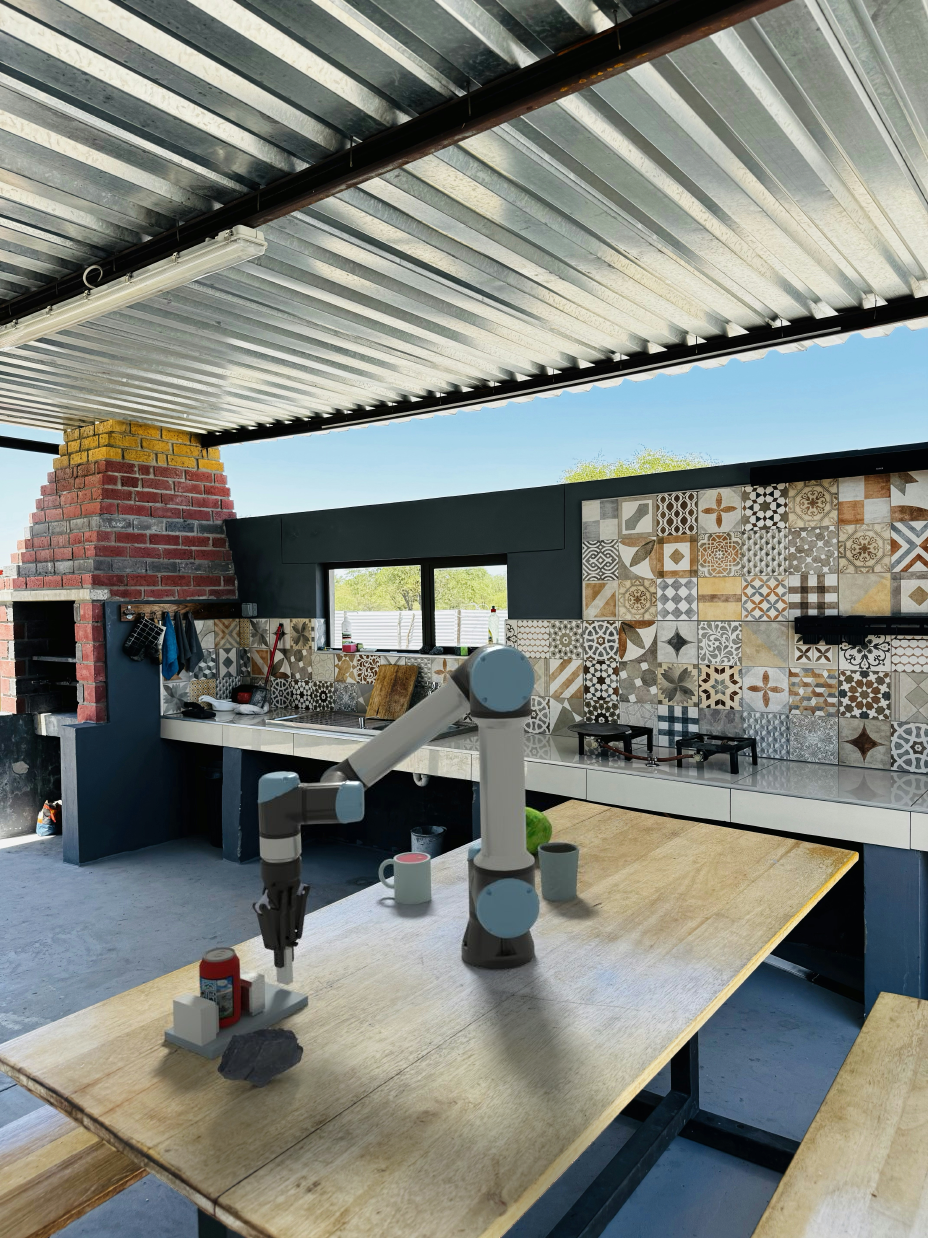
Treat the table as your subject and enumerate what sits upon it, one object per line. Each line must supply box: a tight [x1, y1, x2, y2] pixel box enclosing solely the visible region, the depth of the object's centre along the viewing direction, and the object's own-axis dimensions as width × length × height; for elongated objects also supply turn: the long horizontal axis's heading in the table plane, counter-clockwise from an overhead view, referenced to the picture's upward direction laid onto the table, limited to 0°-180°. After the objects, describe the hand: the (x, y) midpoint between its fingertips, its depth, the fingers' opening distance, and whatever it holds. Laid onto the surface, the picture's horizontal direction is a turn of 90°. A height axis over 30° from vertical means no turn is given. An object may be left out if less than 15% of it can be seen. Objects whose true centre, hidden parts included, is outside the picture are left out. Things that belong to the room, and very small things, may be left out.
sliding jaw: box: [240, 967, 266, 1016], centre depth 148 cm, size 7×4×6 cm, turn 57°
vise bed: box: [163, 981, 309, 1060], centre depth 148 cm, size 12×22×8 cm, turn 147°
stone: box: [216, 1027, 305, 1088], centre depth 127 cm, size 14×6×10 cm, turn 150°
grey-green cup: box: [537, 841, 580, 903], centre depth 208 cm, size 10×10×12 cm
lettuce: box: [525, 806, 553, 855], centre depth 244 cm, size 15×20×14 cm
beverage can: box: [198, 946, 241, 1029], centre depth 144 cm, size 7×7×12 cm
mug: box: [378, 851, 432, 905], centre depth 209 cm, size 14×9×10 cm
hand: (284, 982), depth 157 cm, fingers closed
